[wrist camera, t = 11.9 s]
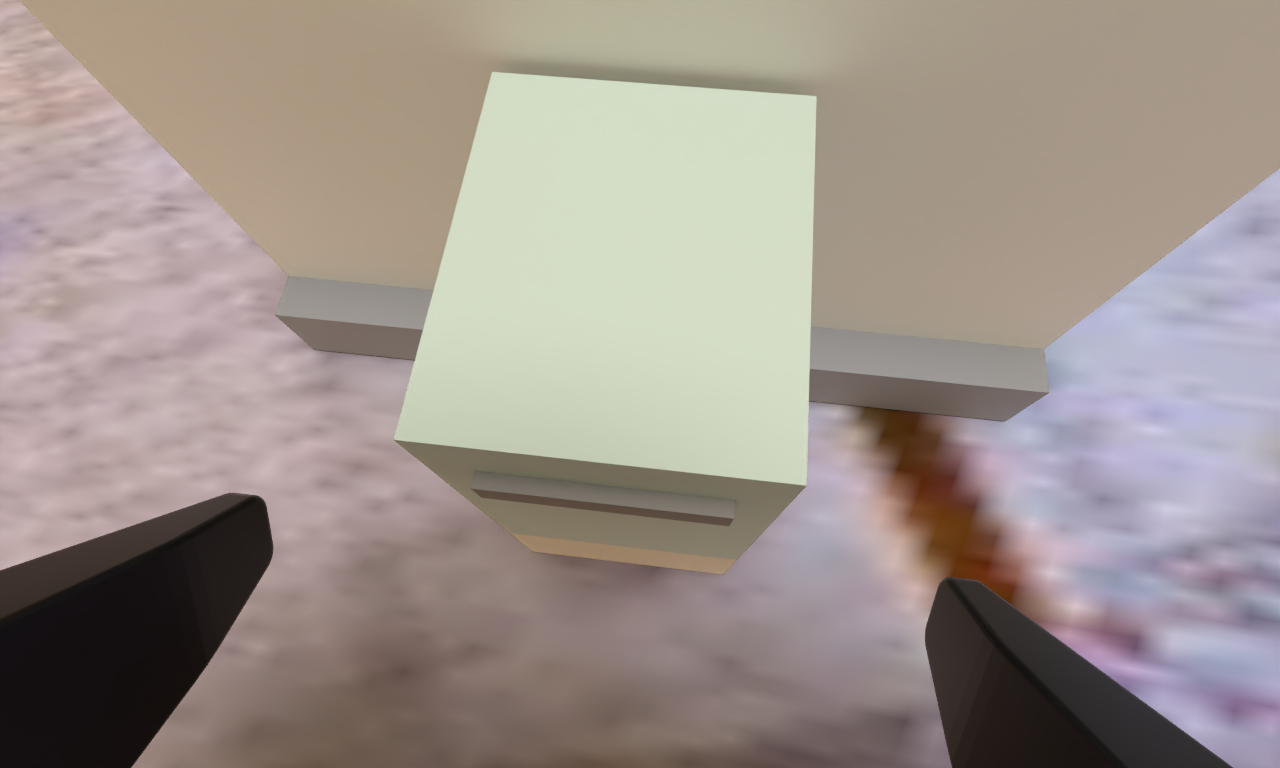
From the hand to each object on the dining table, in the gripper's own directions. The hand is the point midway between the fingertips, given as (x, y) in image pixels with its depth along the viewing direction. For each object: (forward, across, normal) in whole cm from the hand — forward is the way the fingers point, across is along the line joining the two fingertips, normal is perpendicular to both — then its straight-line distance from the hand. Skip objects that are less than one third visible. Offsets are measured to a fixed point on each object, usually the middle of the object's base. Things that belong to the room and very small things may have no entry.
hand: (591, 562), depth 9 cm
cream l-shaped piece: (+14, 0, -2) cm, 14 cm away
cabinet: (+9, 0, +4) cm, 9 cm away
